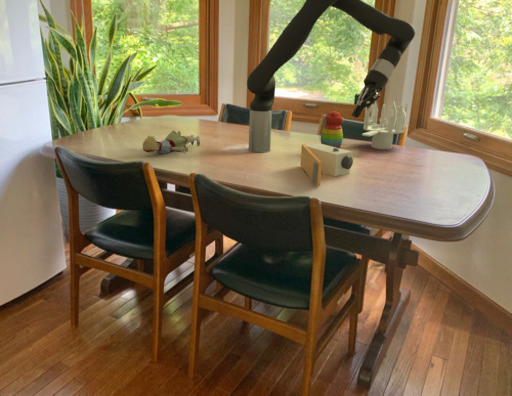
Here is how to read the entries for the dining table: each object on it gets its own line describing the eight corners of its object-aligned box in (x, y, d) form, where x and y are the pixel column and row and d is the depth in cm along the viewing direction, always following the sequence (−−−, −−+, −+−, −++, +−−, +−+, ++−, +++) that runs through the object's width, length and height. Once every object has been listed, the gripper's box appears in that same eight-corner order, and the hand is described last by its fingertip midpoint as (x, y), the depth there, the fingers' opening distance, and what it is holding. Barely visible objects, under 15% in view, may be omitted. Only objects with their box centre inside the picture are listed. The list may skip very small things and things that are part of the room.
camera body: (303, 166, 177) (304, 143, 174) (318, 163, 181) (319, 141, 178) (337, 177, 164) (339, 153, 161) (352, 173, 169) (355, 150, 166)
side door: (298, 165, 176) (299, 144, 173) (302, 165, 176) (304, 144, 174) (314, 185, 152) (316, 162, 149) (320, 185, 152) (321, 162, 149)
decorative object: (344, 151, 203) (348, 105, 197) (371, 141, 225) (375, 99, 218) (383, 158, 193) (389, 109, 186) (407, 147, 215) (413, 103, 208)
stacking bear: (342, 156, 194) (346, 113, 188) (318, 154, 195) (321, 112, 190) (343, 150, 204) (347, 110, 198) (320, 149, 205) (323, 108, 200)
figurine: (175, 141, 212) (123, 151, 188) (175, 123, 209) (122, 131, 185) (217, 151, 199) (167, 163, 175) (218, 131, 196) (167, 141, 172)
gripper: (397, 80, 159) (372, 122, 159) (375, 83, 172) (351, 122, 171) (383, 66, 157) (357, 110, 156) (361, 70, 169) (337, 111, 168)
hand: (354, 116), depth 163 cm, fingers closed
